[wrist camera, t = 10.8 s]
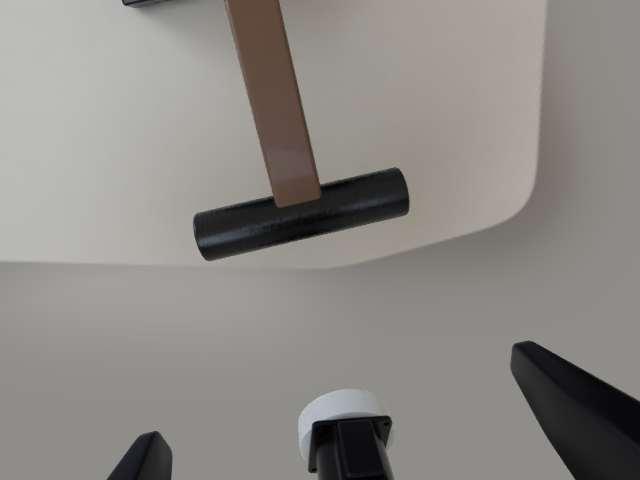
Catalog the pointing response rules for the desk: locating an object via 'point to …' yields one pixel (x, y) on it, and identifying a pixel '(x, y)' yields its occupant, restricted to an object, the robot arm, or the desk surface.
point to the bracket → (140, 2)
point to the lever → (287, 155)
